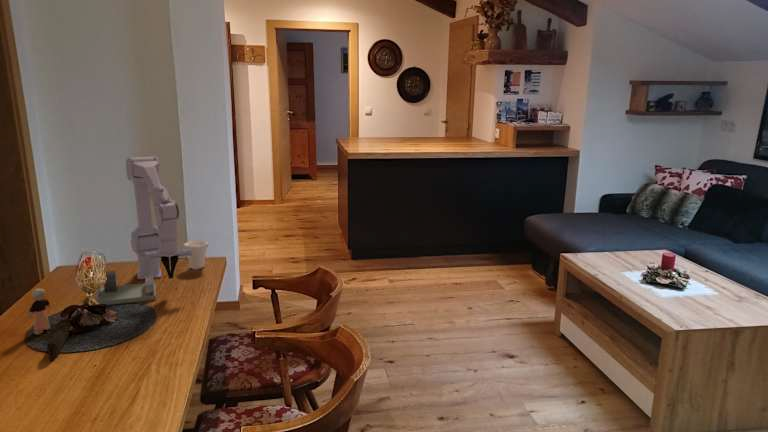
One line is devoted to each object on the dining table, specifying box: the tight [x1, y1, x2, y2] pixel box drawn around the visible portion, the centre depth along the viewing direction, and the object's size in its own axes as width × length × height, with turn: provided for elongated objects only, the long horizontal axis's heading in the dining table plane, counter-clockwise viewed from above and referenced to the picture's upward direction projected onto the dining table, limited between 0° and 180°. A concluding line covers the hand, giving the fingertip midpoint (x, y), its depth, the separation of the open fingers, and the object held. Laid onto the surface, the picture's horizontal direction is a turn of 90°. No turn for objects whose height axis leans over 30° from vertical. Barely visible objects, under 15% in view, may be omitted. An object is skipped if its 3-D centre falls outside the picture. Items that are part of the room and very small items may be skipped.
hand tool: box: [47, 319, 70, 362], centre depth 149 cm, size 19×4×5 cm, turn 17°
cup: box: [182, 240, 209, 270], centre depth 213 cm, size 9×9×10 cm
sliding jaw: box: [144, 275, 155, 294], centre depth 187 cm, size 10×2×3 cm, turn 22°
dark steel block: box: [103, 270, 118, 293], centre depth 185 cm, size 4×4×6 cm
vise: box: [86, 281, 157, 306], centre depth 184 cm, size 13×20×5 cm, turn 112°
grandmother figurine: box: [27, 287, 52, 335], centre depth 157 cm, size 8×4×13 cm, turn 179°
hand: (170, 277), depth 186 cm, fingers closed
